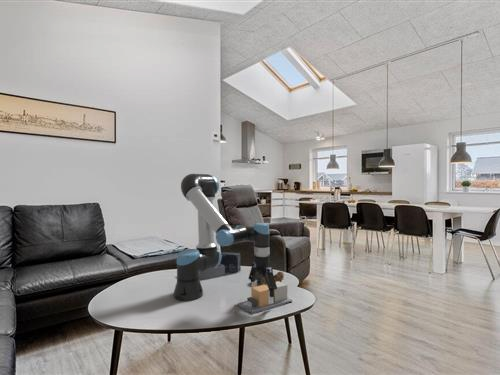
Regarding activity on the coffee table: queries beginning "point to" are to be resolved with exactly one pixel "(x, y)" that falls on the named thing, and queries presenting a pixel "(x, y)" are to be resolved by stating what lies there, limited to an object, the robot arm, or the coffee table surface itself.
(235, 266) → the small box
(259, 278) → the decorative ball
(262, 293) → the block
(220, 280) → the coffee table surface
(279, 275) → the lion figurine
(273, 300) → the robot arm
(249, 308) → the rail board
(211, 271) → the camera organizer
